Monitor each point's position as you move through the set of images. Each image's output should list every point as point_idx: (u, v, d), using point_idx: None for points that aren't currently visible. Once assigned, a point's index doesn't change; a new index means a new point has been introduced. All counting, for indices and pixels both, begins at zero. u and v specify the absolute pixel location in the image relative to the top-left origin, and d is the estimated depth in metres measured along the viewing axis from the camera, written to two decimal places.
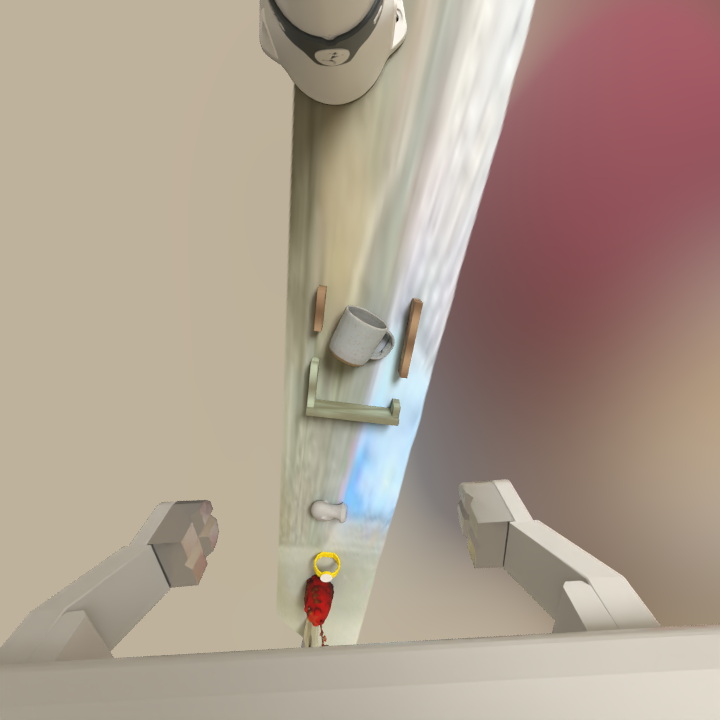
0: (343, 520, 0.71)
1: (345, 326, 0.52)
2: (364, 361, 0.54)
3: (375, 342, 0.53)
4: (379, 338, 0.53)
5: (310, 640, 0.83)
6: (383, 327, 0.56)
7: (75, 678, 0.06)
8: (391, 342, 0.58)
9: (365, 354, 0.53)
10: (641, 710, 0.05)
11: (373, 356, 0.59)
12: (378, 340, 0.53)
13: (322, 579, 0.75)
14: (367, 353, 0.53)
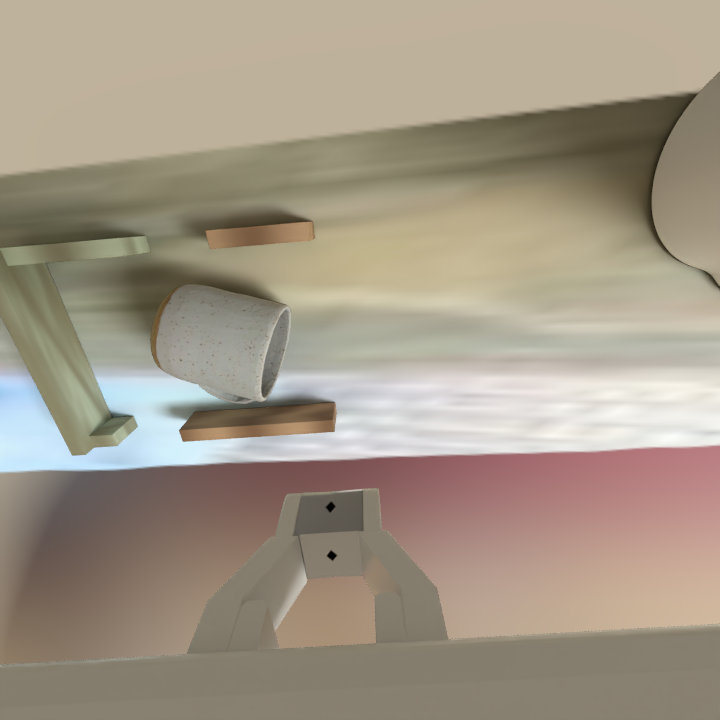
0: None
1: (240, 321, 0.22)
2: (176, 376, 0.24)
3: (228, 391, 0.24)
4: (241, 396, 0.24)
5: None
6: (265, 383, 0.28)
7: (75, 678, 0.06)
8: (242, 397, 0.30)
9: (191, 378, 0.23)
10: (641, 710, 0.05)
11: None
12: (235, 394, 0.25)
13: None
14: (195, 381, 0.24)
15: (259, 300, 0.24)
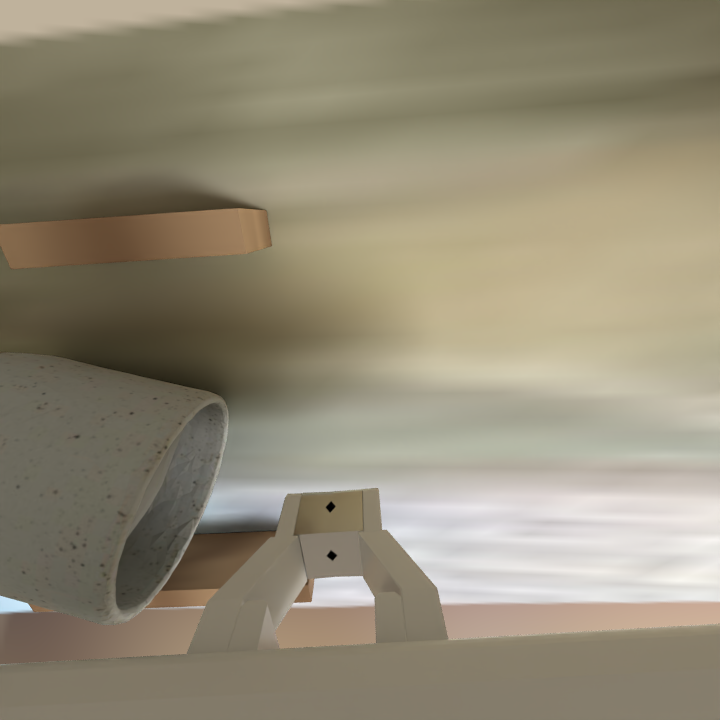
0: None
1: (56, 472, 0.09)
2: None
3: None
4: None
5: None
6: (177, 530, 0.14)
7: (75, 678, 0.06)
8: None
9: None
10: (641, 710, 0.05)
11: None
12: None
13: None
14: None
15: (135, 395, 0.11)
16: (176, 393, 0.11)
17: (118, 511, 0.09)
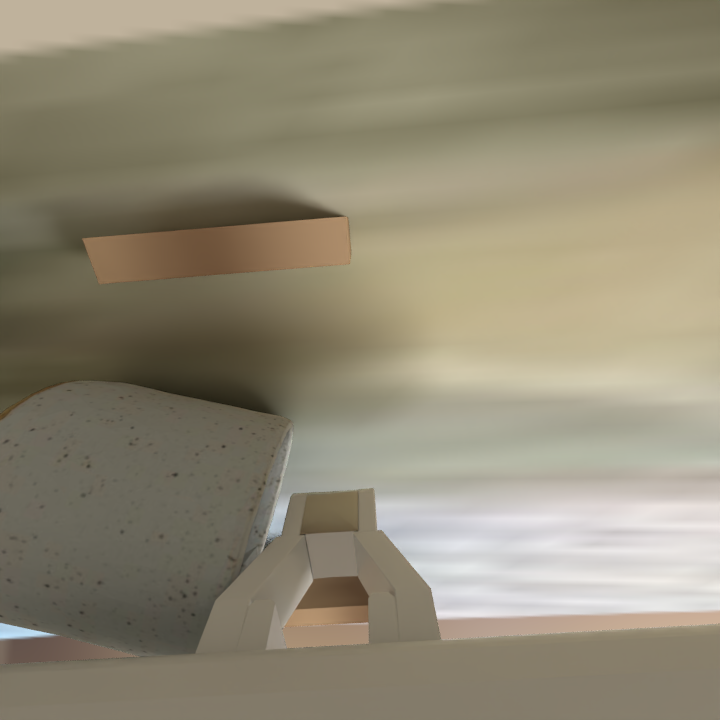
0: None
1: (159, 514, 0.08)
2: None
3: None
4: None
5: None
6: (242, 559, 0.14)
7: (75, 678, 0.06)
8: None
9: None
10: (641, 710, 0.05)
11: None
12: None
13: None
14: None
15: (221, 426, 0.10)
16: (257, 421, 0.11)
17: (228, 555, 0.08)
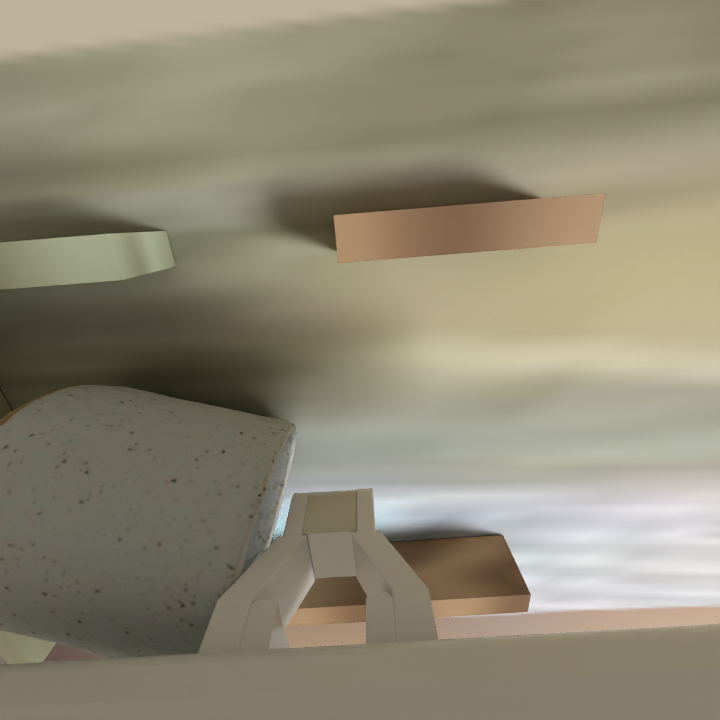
0: None
1: (157, 521, 0.08)
2: None
3: None
4: None
5: None
6: (246, 564, 0.14)
7: (75, 678, 0.06)
8: None
9: None
10: (641, 710, 0.05)
11: None
12: None
13: None
14: None
15: (221, 430, 0.10)
16: (258, 425, 0.11)
17: (227, 564, 0.08)
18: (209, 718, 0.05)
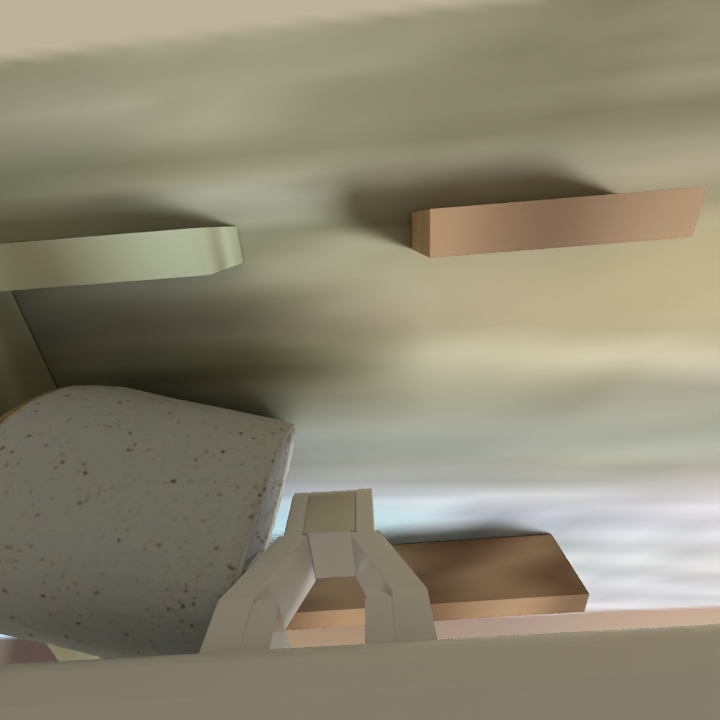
0: None
1: (157, 522, 0.08)
2: None
3: None
4: None
5: None
6: (244, 565, 0.14)
7: (75, 678, 0.06)
8: None
9: None
10: (641, 710, 0.05)
11: None
12: None
13: None
14: None
15: (220, 430, 0.10)
16: (258, 425, 0.11)
17: (227, 564, 0.08)
18: (209, 718, 0.05)
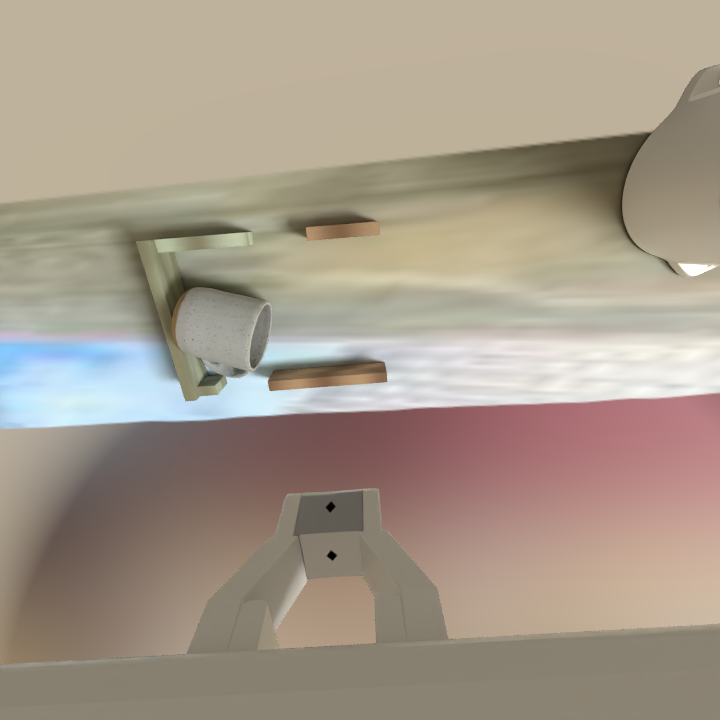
0: None
1: (234, 312, 0.32)
2: (188, 353, 0.33)
3: (226, 363, 0.33)
4: (235, 367, 0.34)
5: None
6: (254, 360, 0.37)
7: (75, 678, 0.06)
8: (236, 373, 0.39)
9: (200, 353, 0.33)
10: (641, 710, 0.05)
11: None
12: (231, 366, 0.34)
13: None
14: (202, 355, 0.33)
15: (247, 297, 0.34)
16: (259, 299, 0.34)
17: (252, 321, 0.31)
18: (209, 718, 0.05)
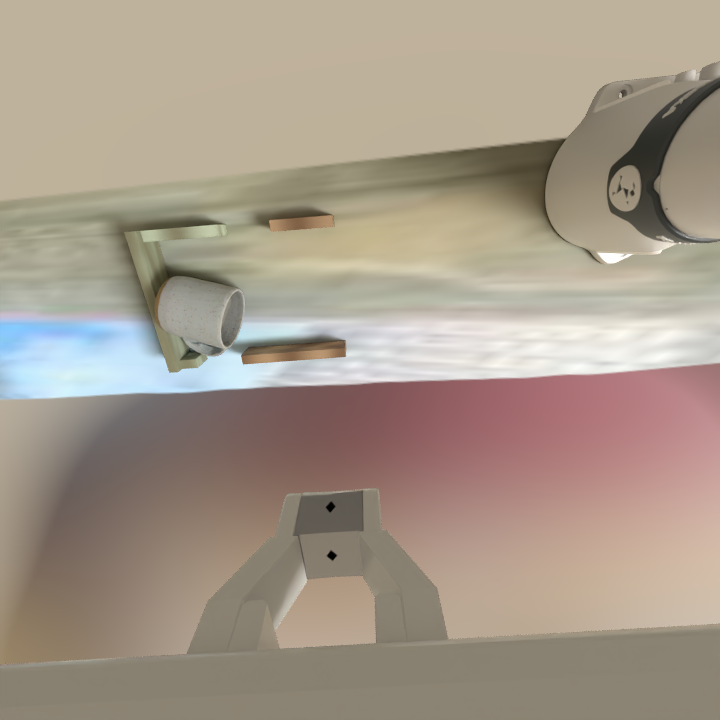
0: None
1: (207, 297, 0.37)
2: (170, 332, 0.39)
3: (202, 341, 0.39)
4: (210, 344, 0.40)
5: None
6: (228, 340, 0.43)
7: (75, 678, 0.06)
8: (214, 352, 0.45)
9: (179, 332, 0.38)
10: (641, 710, 0.05)
11: None
12: (206, 343, 0.40)
13: None
14: (181, 334, 0.39)
15: (220, 285, 0.39)
16: (230, 286, 0.40)
17: (222, 304, 0.37)
18: (209, 718, 0.05)
